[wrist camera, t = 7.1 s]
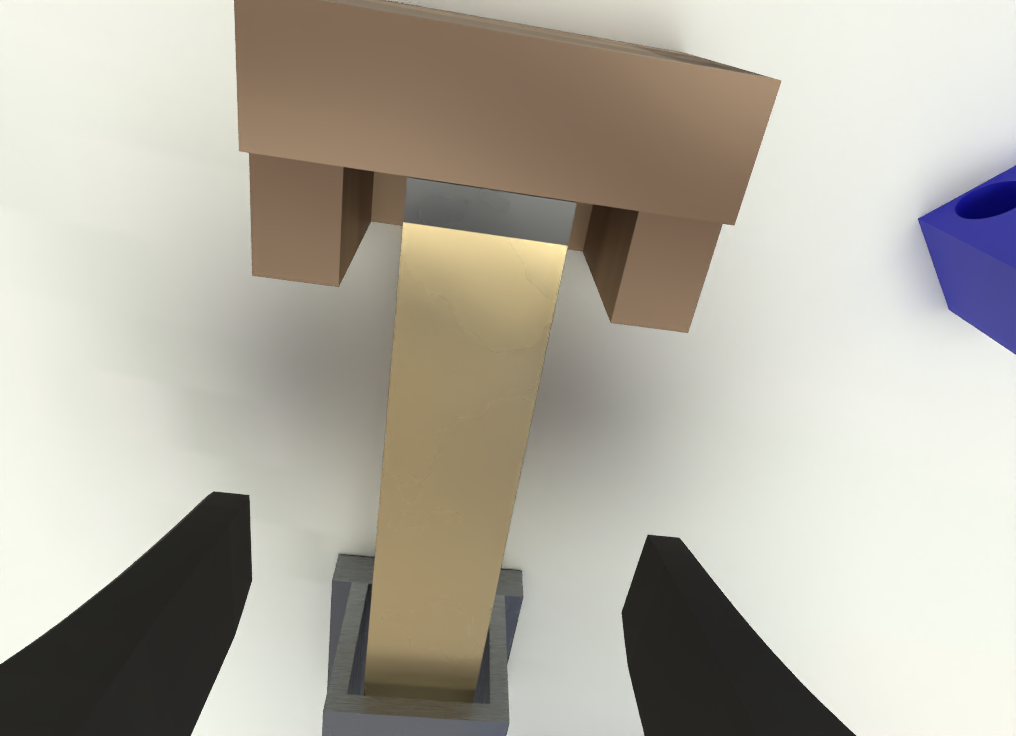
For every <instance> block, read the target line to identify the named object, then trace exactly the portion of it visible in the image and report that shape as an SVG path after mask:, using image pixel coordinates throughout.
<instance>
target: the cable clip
mask: <svg viewBox="0 0 1016 736" xmlns="http://www.w3.org/2000/svg"><path fill="white" fill-rule="evenodd" d="M918 220H919V223H920V226H921V229H922V232H923V235H924V238H925V241H926V244H927V247H928V249H929V252H930V255H931V258H932V261H933V264H934V267H935V270H936V273H937V276H938V279H939V282H940V285H941V288H942V291H943V294H944V296H945V299H946V302H947V305H948V308H949V310H950V311H952V312H953V313H955V314H956V315H958V316H959V317H961V318H962V319H964V320H965V321H967V322H968V323H970V324H971V325H973V326H974V327H976V328H977V329H979V330H980V331H982V332H983V333H984V334H986V335H987V336H989V337H990V338H992V339H993V340H995V341H996V342H998V343H999V344H1001V345H1002V346H1004V347H1005V348H1007V349H1008V350H1010V351H1011V352H1013V353H1014V354H1016V166H1014V167H1012V168H1010V169H1009V170H1007V171H1005V172H1003V173H1001V174H999V175H998V176H996V177H994V178H992V179H990V180H988V181H987V182H985V183H983V184H981V185H979V186H977V187H975V188H974V189H972V190H970V191H968V192H966V193H964V194H963V195H961V196H959V197H957V198H955V199H953V200H952V201H950V202H948V203H946V204H944V205H942V206H941V207H939V208H937V209H935V210H933V211H931V212H930V213H928V214H926V215H924V216H922V217H920V218H919V219H918Z"/></svg>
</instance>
